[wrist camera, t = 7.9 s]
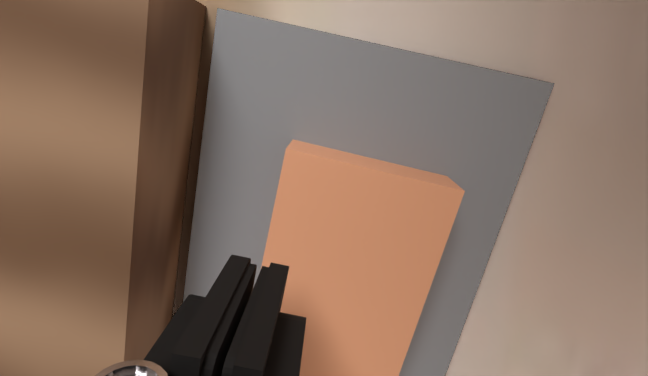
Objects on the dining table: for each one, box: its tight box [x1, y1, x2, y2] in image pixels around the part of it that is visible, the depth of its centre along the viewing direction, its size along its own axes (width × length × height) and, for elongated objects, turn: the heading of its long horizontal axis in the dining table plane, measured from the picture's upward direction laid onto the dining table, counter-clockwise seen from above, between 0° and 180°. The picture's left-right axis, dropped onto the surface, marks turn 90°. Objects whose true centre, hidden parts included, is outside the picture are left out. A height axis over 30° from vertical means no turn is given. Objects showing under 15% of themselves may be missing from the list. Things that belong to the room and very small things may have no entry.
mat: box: [183, 8, 554, 376], centre depth 15 cm, size 16×12×1 cm
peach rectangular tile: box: [261, 139, 465, 376], centre depth 14 cm, size 9×6×2 cm, turn 167°
